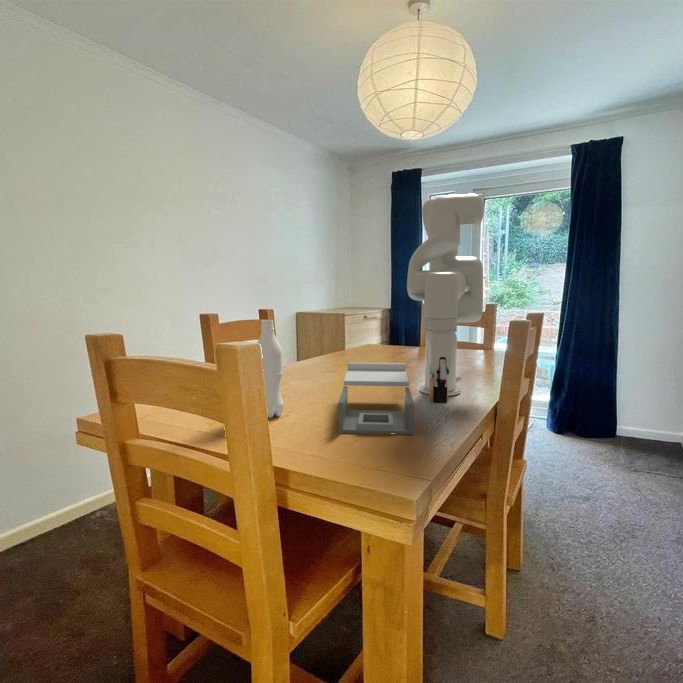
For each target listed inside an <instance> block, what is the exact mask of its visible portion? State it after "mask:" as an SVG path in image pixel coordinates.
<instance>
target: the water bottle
mask: <svg viewBox="0 0 683 683" xmlns="http://www.w3.org/2000/svg"><path fill="white" fill-rule="evenodd" d="M260 324H261V326H260V327H261V328H260V331H261V334H260V337H259V339H258V340H257V342H256V344H257V343H259V344H261V347H262V355H263V369H264V379H265V389H266V400H267V408H268V417H269V418H268V419H272V418H273V417H274V416H276V417H280V416H281V415H282V413H283V412H284V407H285V406H284V405H285V403H284V400H283V398H282V394H281V380H282V378H283V375H284V370H283V348H282V346H281V344H280V342H279V340H278V339H277V337H276V333H275V329H276V328H275V327H274V319H262V320H261V322H260Z"/></svg>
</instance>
